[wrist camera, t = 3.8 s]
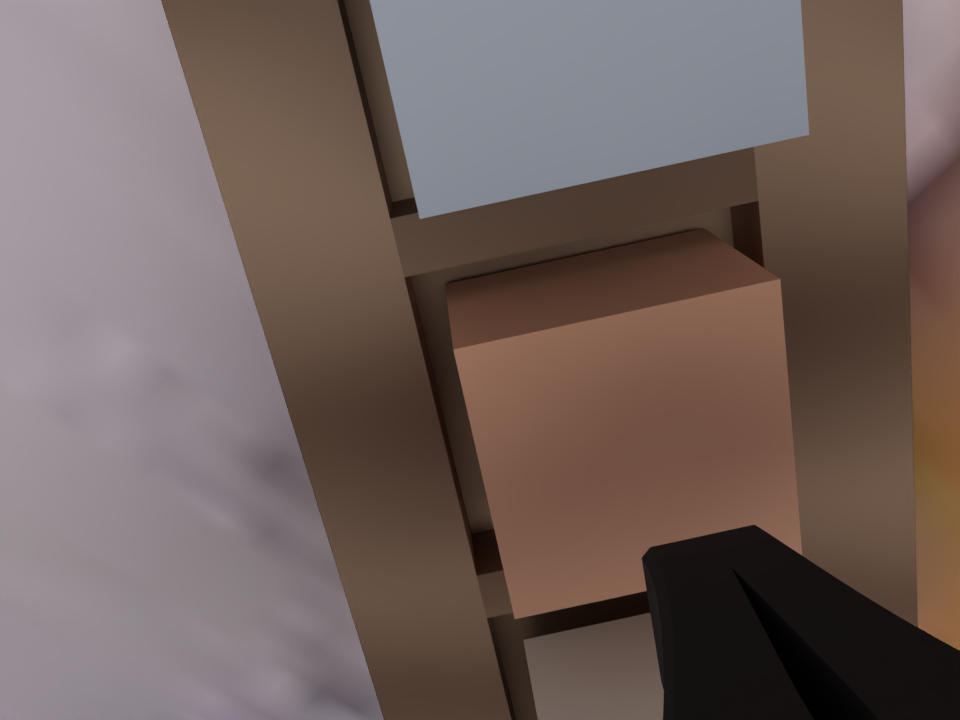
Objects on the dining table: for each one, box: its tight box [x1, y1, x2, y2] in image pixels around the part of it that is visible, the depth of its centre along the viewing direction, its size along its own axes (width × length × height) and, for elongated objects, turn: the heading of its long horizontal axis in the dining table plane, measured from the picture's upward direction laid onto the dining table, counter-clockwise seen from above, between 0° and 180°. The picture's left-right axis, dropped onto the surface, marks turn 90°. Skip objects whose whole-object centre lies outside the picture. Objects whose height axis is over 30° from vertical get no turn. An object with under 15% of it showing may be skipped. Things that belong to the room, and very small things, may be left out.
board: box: [161, 0, 918, 720], centre depth 16 cm, size 26×11×2 cm, turn 11°
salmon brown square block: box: [445, 228, 802, 619], centre depth 15 cm, size 5×5×4 cm
